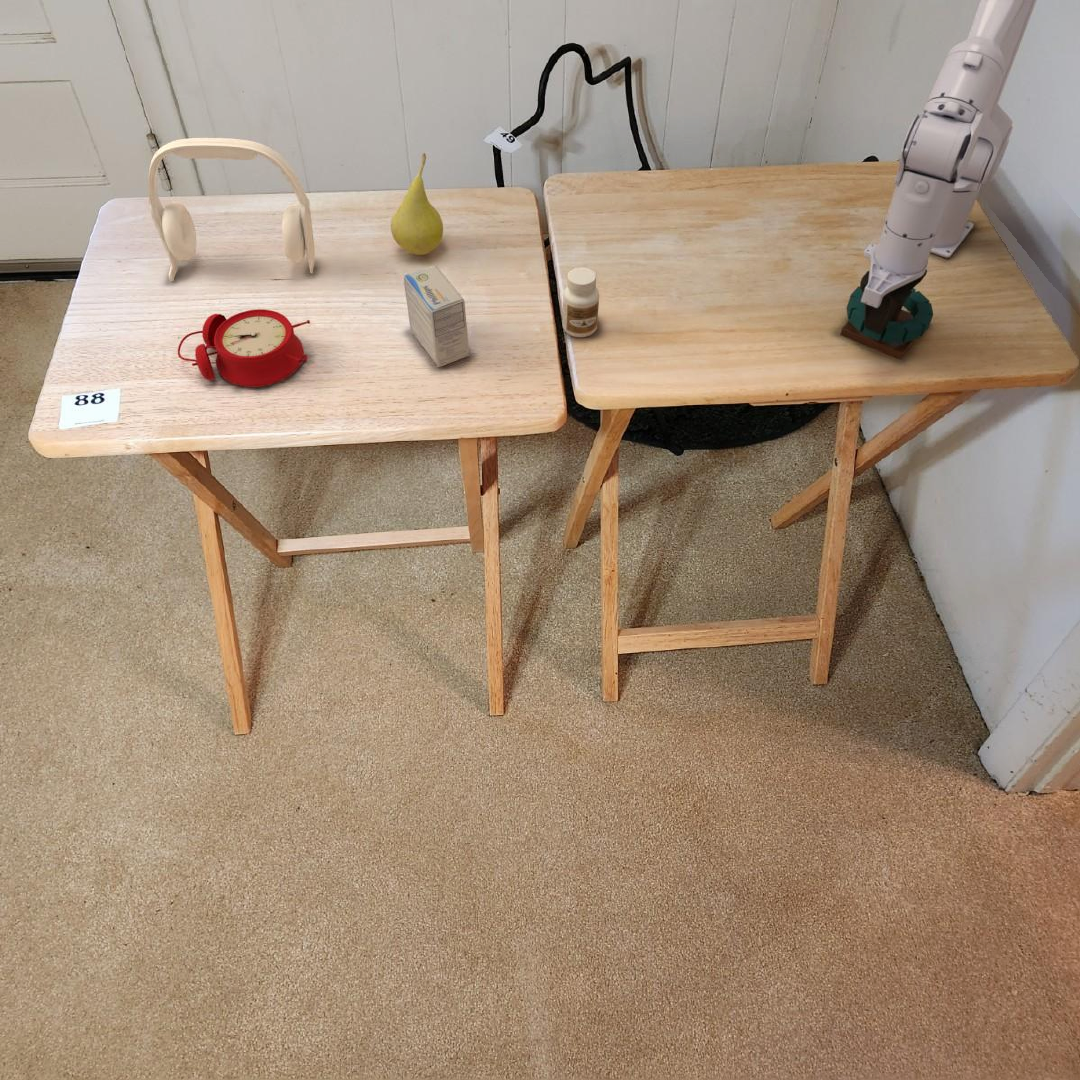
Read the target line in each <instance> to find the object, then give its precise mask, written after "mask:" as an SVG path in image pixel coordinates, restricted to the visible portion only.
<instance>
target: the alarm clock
mask: <svg viewBox="0 0 1080 1080" xmlns="http://www.w3.org/2000/svg"><path fill="white" fill-rule="evenodd" d="M306 324H311V320H309V319H307V320H306V321H303V322H300V323H296V324H292V322H291V321H290V320H289V318H287V317H286V316H285V315H284V314H282V313H280V312H278V311H275V310H270V309H262V308H261V309H260V308H258V309H249V310H245V311H241V312H239V313H236V314H233V315H232V316H229V317H228V318H226V316H225V315H224V314H222V313H213V314H211V315H209V316H208V317H207V319H205V321H204V323H203V326H202V329H201V330H198V331H193V332H190V333H188V334H186V335H184V336H183V338H182V339H181V340H180V342H179V345H178V347H177V356H178V358H179V359H181V360H183V361H186V362H193V363H191V366H192V367H196V366H197V368H198V371H199V372H200V374H201V376H202V377H203V378H204V379H205V380H208V381H214V380H216V377H215V373H214V369H213V365H212V363H211V359H210V356H214V355H215V366H216V370H217V372H218V373H219V375H220V376H221V377H222V378H223V379H224V380H226V381H227V382H229V383H231V384H234V385H236V386H240V387H246V388H258V387H266V386H269V385H273V384H276V383H279V382H281V381H283V380H285V379H288V377H290V376H291V375H292V374H294V373H295V372H296V371H297V370H298V369H299V367H300V366H301V364H302V363H303V361H305V362H308V361H307V360H308V355H307V354H305V350H304V346H303V343H302V341H301V340H300V339H299V337H298V336H297V335H295V330H294V329H295V328H298V327H300V326H304V325H306ZM197 334H202V335H201V336H202V339H203V342H204V343H201V344H198V345H196V347H195V350H194V353H195V354H194V355H195V357H194V358H186V357H183V356H182V355H181V347H182V345H183V343H184V342H185V340H186V339H188V338H189V337H191V336H193V335H197ZM208 349H212V350H215V351H212V352H209V353H208Z"/></svg>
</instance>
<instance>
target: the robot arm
mask: <svg viewBox="0 0 1080 1080" xmlns="http://www.w3.org/2000/svg"><path fill="white" fill-rule="evenodd" d="M1036 3H1037V0H980V1H979V5H978V7H977V9H976V13H975V15H974V18H973V21H972V24H971V27H970V30H969V33H968V36H967V38H966V39H965V40H963V41H962V42H960V43H958V44H955V45H954V46H953V47H952V48H950V50H949V51H948V53H947V55H946V58H945V59H944V63H943V64H942V66H941V70H939V73H938V76H937V78H936V81H935V82H934V85H933V86H932V87H933V88H932V90H931V92H930V94H929V96H928V98H927V101H926V104H925V106H924V108H923V110H922V112H921V115H920V114H916V115H915V117H914V118H913V120H912V121H911V123H910V125H909V127H908V130H907V132H906V135H905V136H904V140H903V143H902V145H901V149H900V153H899V158H898V164H897V171H896V175H895V178H894V182H893V183H894V185H895V188H894V190H893V194H892V197H891V201H890V203H889V206H888V210H887V212H886V216H885V220H884V223H883V226H882V229H881V232H880V236H879V239H878V242H877V244H875V243H870V244H868V245H867V246H866V247H865V249H864V251H863V257H865V258H867V259H869V260H870V264H869V265H870V266H869V270H867V271H866V272H865V274H864V275H862V277H861V280H860V284H859V287H860V288H861V290H862V293H863V296H862V299H861V302H863V303H865V329H868V330H870V331H873V332H875V333H878V334H881V333H882V331H883V330H884V329H885V328H886V326H887V325H888V323H889V321H891V320H892V319H893V318H894V316H895V315H896V313H897V312H898V310H899V308H900V306H901V305H902V303H903V302H904V301H905V300H906V299H907V298H908V297H909V296H910V295H911V293H912V291H911V290H912V289H913V288H914V289H915V287H917V286H918V285H919V284H920V283H921V282H922V281H923V279H924V278H925V277H926V276H927V273H928V266H929V257H930V255H931V253H932V254H934V255H937V256H940V257H943V258H945V259H947V258H948V259H949V258H950V257H951V256H952V255H953V254H954V252H955V251H956V250H957V249H958V248H959V246H960V245H961V244H962V242H964V240H965V238H966V237H967V236H968V234H969V233H970V232H971V230H972V229H973V228H974V223H973V222H972V221H969V218H970V217H971V216H970V215H971V213H972V211H973V208H974V206H975V203H976V200H977V198H978V195H979V193H980V190H981V188H982V186H985V187H986V186H987V185H989V184H990V183H992V182H993V180H994V178H995V177H996V174H997V171H998V169H999V167H1000V164H1001V163H1002V160H1003V158H1004V155H1005V153H1006V151H1007V147H1008V145H1009V142H1010V136H1011V134H1012V131H1013V129H1014V128H1013V124H1014V122H1013V120H1012V119H1011V117H1010V116H1009V115H1008V114H1007V113H1006V112H1005V111H1004V109H1003V108H1002V106H1000V105H999V101H1000V98H1001V96H1002V93H1003V91H1004V88H1005V86H1006V83H1007V80H1008V78H1009V75H1010V72H1011V69H1012V67H1013V65H1014V61H1015V59H1016V56H1017V54H1018V51H1019V48H1020V46H1021V43H1022V41H1023V38H1024V35H1025V32H1026V30H1027V27H1028V24H1029V22H1030V19H1031V16H1032V13H1033V11H1034V8H1035V5H1036Z"/></svg>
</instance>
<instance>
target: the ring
mask: <svg viewBox="0 0 1080 1080" xmlns="http://www.w3.org/2000/svg"><path fill="white" fill-rule="evenodd" d="M916 290H917V288H915V287H914V288H913V289H912V290H911V291H912V293H911V295H910V296H909V297H908V298H907V299H906V300H905V301H904V303H903V306H902V308H904V309H905V310H906V311H907V312H910V313H911V314H912V315H913V319H910V320H906V321H903V322H895V321H889V323H888V325H887V326H886V328H885V329H884V330H883V331H882V333H881V334H878V333H875V332H873V331H870V330H868V329H865V303H863V302H861V299H862V296H863V293H862V290H861V288H860V285H859V286H857V287H856V288H855V289H854V290H853V292H852V293H851V294H850V295H849V299H848V303H847V306H846V315H847V320H848V321H849V320H850V321H849V322H850V323H851V324H852V325H853V326H854V327H855V328H856V329H857V330H858V331H859V332H861V331H863V333H862V334H864V335H866V336H868V337H871V338H873V339H876V340H878V341H879V340H880V339H881V338H882V342H891V343H901V341H903V342H904V343H906V342H909V341H912V340H915V341H916V340H918V339H920V338H922V337H923V336H924V334H925V333H926V332H927V331H928V329H929V328H930V325H931V324H932V323H931V322H932V320H933V318H934V309H933V306H932V303H930V299H928V297H926V296H925V295H924V294H923V293H922V292H921V291H919V290H917V291H916Z"/></svg>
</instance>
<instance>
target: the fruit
mask: <svg viewBox="0 0 1080 1080" xmlns="http://www.w3.org/2000/svg"><path fill="white" fill-rule="evenodd" d="M421 157H422V159H421V164H420V167H419V170H418V173H417V175H416V176H415V177H414V178H413V179H412V182H411V184H410V186H409V188H408V190H407V192H406V194H405V196H404V198H403V200H402V202H401V204H400V205H399V207H398V208H397V209H396V211H395V212H394V213H393V215H392V217H391V219H390V233H391V235H392V238H393V239H394V241H395V242H396V244H397V245H398V246H399V247H400V248H402V249H403V250H404V251H405V252H407V253H409V254H411V255H416V256H424V255H427V254H430V253H431V252H433V251H434V250H435V249H437V248H438V247H439V245H440V243H441V242H442V240H443V235H444V224H443V220H442V218H441V215H440V213H439V211H438V210H437V209H436V208H435V207H434V206H433V205H432V204H431V203H430V200H429V199H428V195H427V192H426V190H425V185H424V180H423V177H422V176H423V171H424V166H425V164H426V160H427V155H426V153H425V152H423V153H422V154H421Z"/></svg>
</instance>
